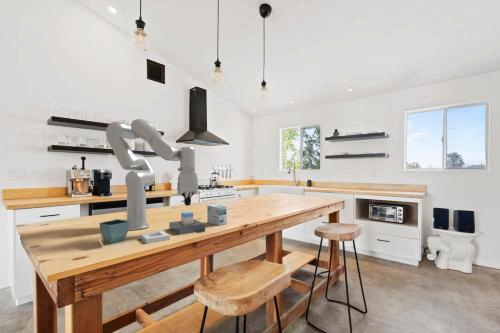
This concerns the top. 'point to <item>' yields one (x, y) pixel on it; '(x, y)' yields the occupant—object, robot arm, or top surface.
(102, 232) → the flower pot
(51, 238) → the top surface
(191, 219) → the plug
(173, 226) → the port block
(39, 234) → the top surface
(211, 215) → the light bulb box
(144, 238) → the grey base plate
